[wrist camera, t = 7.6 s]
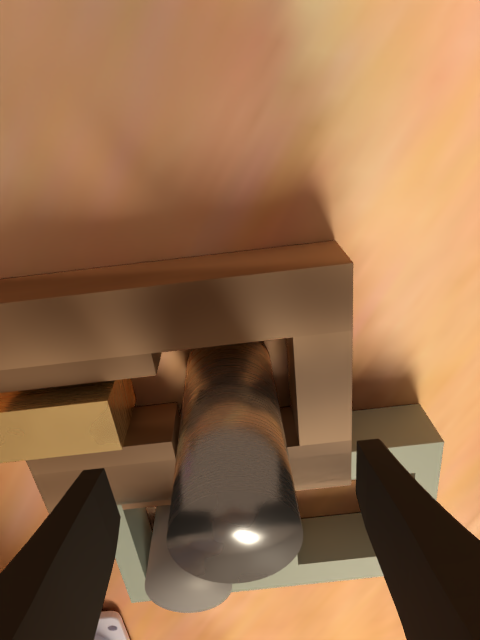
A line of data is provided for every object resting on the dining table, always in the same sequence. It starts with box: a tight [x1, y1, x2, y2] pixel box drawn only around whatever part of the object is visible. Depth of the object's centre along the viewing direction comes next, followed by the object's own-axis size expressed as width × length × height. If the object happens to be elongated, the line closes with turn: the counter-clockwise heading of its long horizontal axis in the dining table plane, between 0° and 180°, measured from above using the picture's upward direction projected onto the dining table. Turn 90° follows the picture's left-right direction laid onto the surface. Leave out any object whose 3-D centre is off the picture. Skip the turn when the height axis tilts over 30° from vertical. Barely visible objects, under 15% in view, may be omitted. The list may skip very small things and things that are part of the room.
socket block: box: [0, 240, 353, 514], centre depth 17 cm, size 10×12×2 cm
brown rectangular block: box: [0, 378, 136, 463], centre depth 17 cm, size 2×7×3 cm, turn 96°
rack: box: [114, 404, 444, 613], centre depth 19 cm, size 8×14×4 cm, turn 96°
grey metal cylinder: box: [167, 341, 303, 584], centre depth 15 cm, size 3×3×8 cm
